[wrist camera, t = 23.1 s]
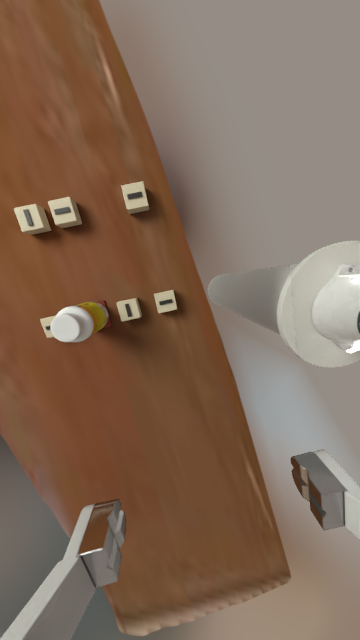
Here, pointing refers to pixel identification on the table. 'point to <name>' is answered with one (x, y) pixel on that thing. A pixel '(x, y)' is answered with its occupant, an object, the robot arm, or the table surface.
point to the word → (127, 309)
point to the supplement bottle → (79, 321)
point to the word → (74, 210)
